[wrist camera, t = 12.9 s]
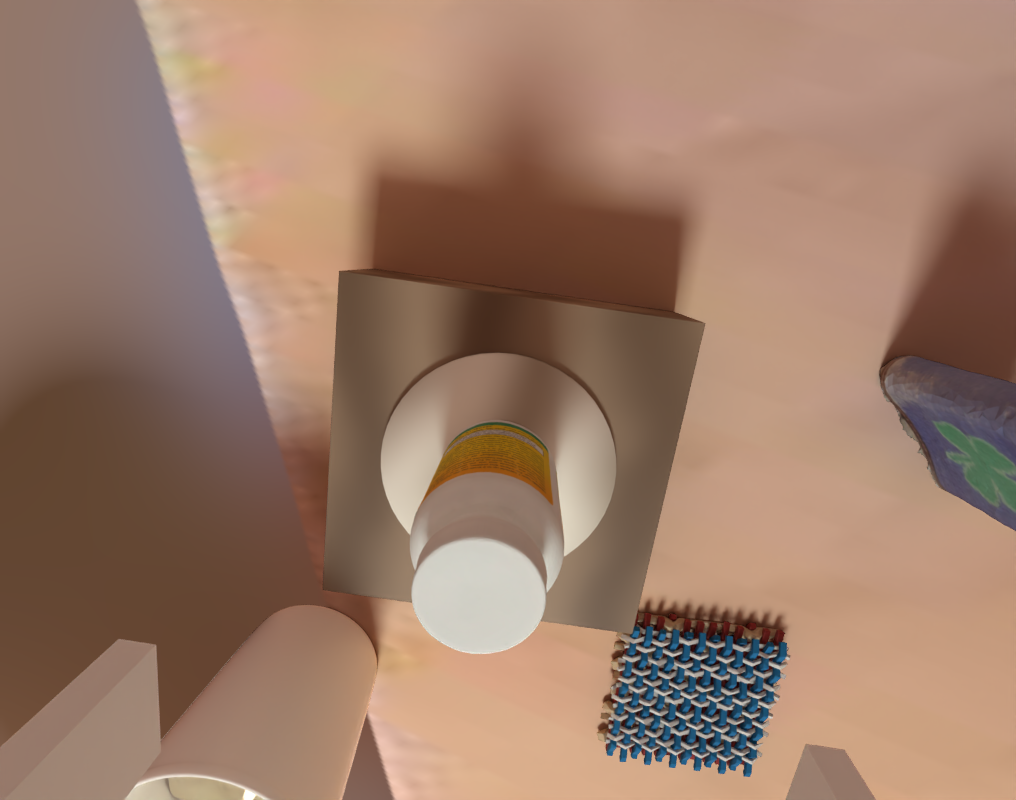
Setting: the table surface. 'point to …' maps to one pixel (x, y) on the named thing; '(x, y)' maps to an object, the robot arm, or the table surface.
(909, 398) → the flask
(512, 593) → the supplement bottle
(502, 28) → the table surface
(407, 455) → the walnut plinth
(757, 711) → the woven mat
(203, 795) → the candle holder
